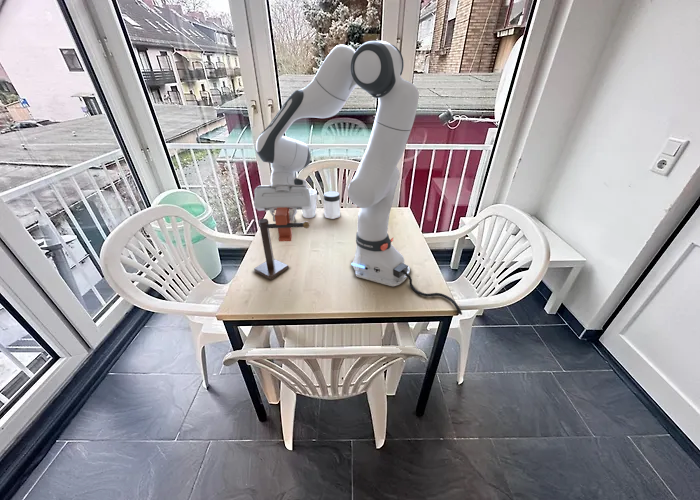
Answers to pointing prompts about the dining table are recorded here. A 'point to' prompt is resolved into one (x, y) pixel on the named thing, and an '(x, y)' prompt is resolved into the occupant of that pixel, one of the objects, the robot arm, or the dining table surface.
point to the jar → (332, 204)
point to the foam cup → (311, 212)
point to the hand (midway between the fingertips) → (283, 220)
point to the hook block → (283, 219)
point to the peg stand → (271, 265)
